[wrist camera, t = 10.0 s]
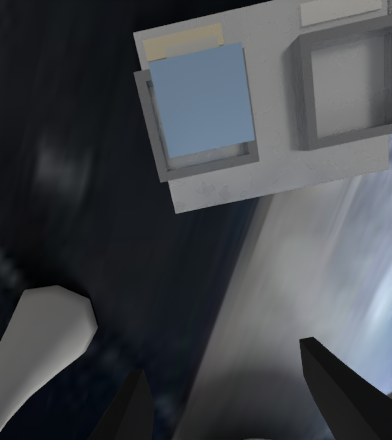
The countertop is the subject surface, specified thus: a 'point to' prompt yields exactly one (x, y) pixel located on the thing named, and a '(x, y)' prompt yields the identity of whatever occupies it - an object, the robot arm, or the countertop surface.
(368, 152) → the panel
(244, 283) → the countertop surface
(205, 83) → the plug
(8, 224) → the countertop surface
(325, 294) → the countertop surface
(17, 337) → the flask
